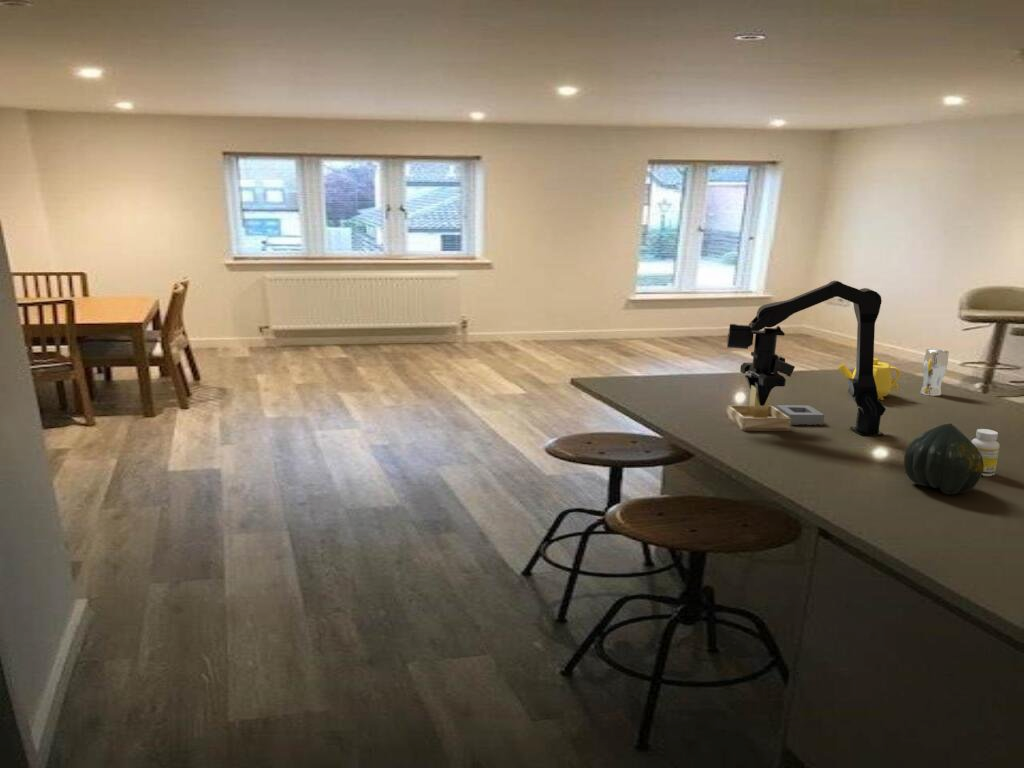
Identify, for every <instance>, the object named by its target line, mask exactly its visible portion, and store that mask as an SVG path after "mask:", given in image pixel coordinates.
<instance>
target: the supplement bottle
mask: <svg viewBox="0 0 1024 768" xmlns="http://www.w3.org/2000/svg"><path fill="white" fill-rule="evenodd" d="M975 432H976V433H975V436H976V437H974V438H973V439H972V440H970V441H971V442H972V443H973V444H974V445H975V447H976V448H977V449H978V451H979V452H980V454H981V456H982V458H983V465H984V467H983V473H982V475H983V476H982V477H992V475H993V476H994V475H995V474H996V468H997V464H998V463H997V462H998V457H999V451H1000V446H1001V445H1000V443H999V442H998V441H997V440H998V435H999V432H997V431H995V430H992V429H987V428H978V429H976V431H975Z"/></svg>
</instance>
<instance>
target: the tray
mask: <svg viewBox="0 0 1024 768" xmlns="http://www.w3.org/2000/svg"><path fill="white" fill-rule="evenodd" d="M748 413H749V405H745V404H743V405H734V404H729V405H726V412H725V417H726V418H727V420H729V421H731V422H732V424H734V425H735V426H736V427H737V428H738V429H740V430H741V431H754V432H755V431H763V432H764V431H765V432H767V431H771V432H772V431H773V432H774V431H775V432H777V431H778V432H780V431H781V432H782V431H784V432H785V431H787V432H788V431H789V432H790V431H791V426H792V425H791V418H790V417H788V416H787V415H785V414H784V413H782V412H781V411H779V410H778V409H776V406H773V405H769V407H768V416H767V418H752V417H750V416H749V415H748Z"/></svg>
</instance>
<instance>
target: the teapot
mask: <svg viewBox="0 0 1024 768" xmlns="http://www.w3.org/2000/svg"><path fill="white" fill-rule="evenodd" d="M837 370H838V371H839V372H841V374H842V375H843V376H844V377H845V378H846V379H847V380H848V378H852V379H854V376H855V374H856V367H855V368H854V370H853V373H852V372H851V370H850V369H849V368H848V367H847V366H846V365H845V364H844V363H843V364H841V365H840V366H839V365H838V367H837ZM892 370H893V371H896V376H895V377H894V379H893V376H892ZM873 376H874V380H875V383H876V388H877V394H878V399H880V400H879V401H884V400H885V398H884V397H887V396H888V395H889V394H890V392H891V391H896V390H898V388H899V385H898V383H897V381H898V380H899V378H900V376H901V371H900V369H899V368H897V367H895V366H890V364H889V363H888V362H883V361H880V359H879V358H877V357H876V358H875V357H874V361H873ZM894 386H895V387H894Z"/></svg>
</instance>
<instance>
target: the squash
mask: <svg viewBox="0 0 1024 768" xmlns="http://www.w3.org/2000/svg"><path fill="white" fill-rule="evenodd" d="M971 441H972V440H970V439H969V438H968V437H967V436H966V435H965V434H964V433H963V432H962V431H961V430H960V429H959V428H958V427H956V426H955V425H954V424H953V423H945V424H941V425H938V426H936V427H934V428H931V429H929V430H926V431H924V432H923V433H921V434H920V435H918V436H917V437H915V438H914V439H913V441H911V443H910V444H909V445H908V447H907V448H906V450H905V452H904V456H903V465H904V471H905V473H906V475H907V477H908V479H909V480H910V481H911V482H913V483H914V484H916V485H918V486H921V485H922V486H923V487H924V486H925V487H932V488H937V489H938V488H939V489H940V491H941V492H942V493H943V494H945V495H955V494H957V493H958V494H959V493H967V492H968V491H970V490H972V489H973V488H975V487H976V485H977V484H978V482H979V481H980V480H981V478H982V476H981V475H982V473H983V467H984V465H983V458H982V456H981V454H980V452H979V451H978V449H977V448H976V447H975V445H974V444H973V443H972V442H971Z"/></svg>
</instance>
